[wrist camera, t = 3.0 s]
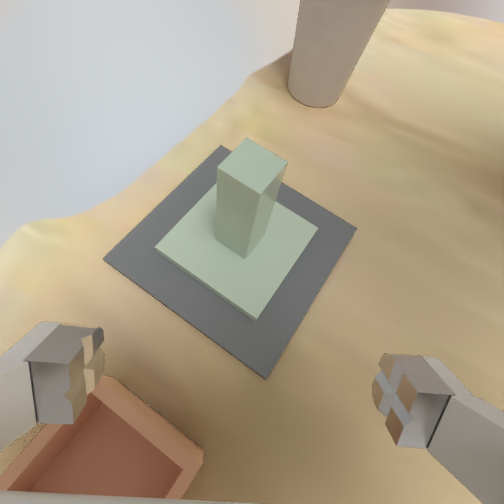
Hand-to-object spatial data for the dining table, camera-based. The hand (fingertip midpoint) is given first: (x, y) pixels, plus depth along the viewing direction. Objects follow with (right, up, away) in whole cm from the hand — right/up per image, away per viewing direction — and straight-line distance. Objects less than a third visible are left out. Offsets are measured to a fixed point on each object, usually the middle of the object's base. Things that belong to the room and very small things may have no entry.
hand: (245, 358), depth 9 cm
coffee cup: (+8, +23, +29) cm, 38 cm away
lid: (-1, +4, +18) cm, 18 cm away
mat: (-1, +4, +18) cm, 19 cm away
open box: (-8, -11, +10) cm, 17 cm away
